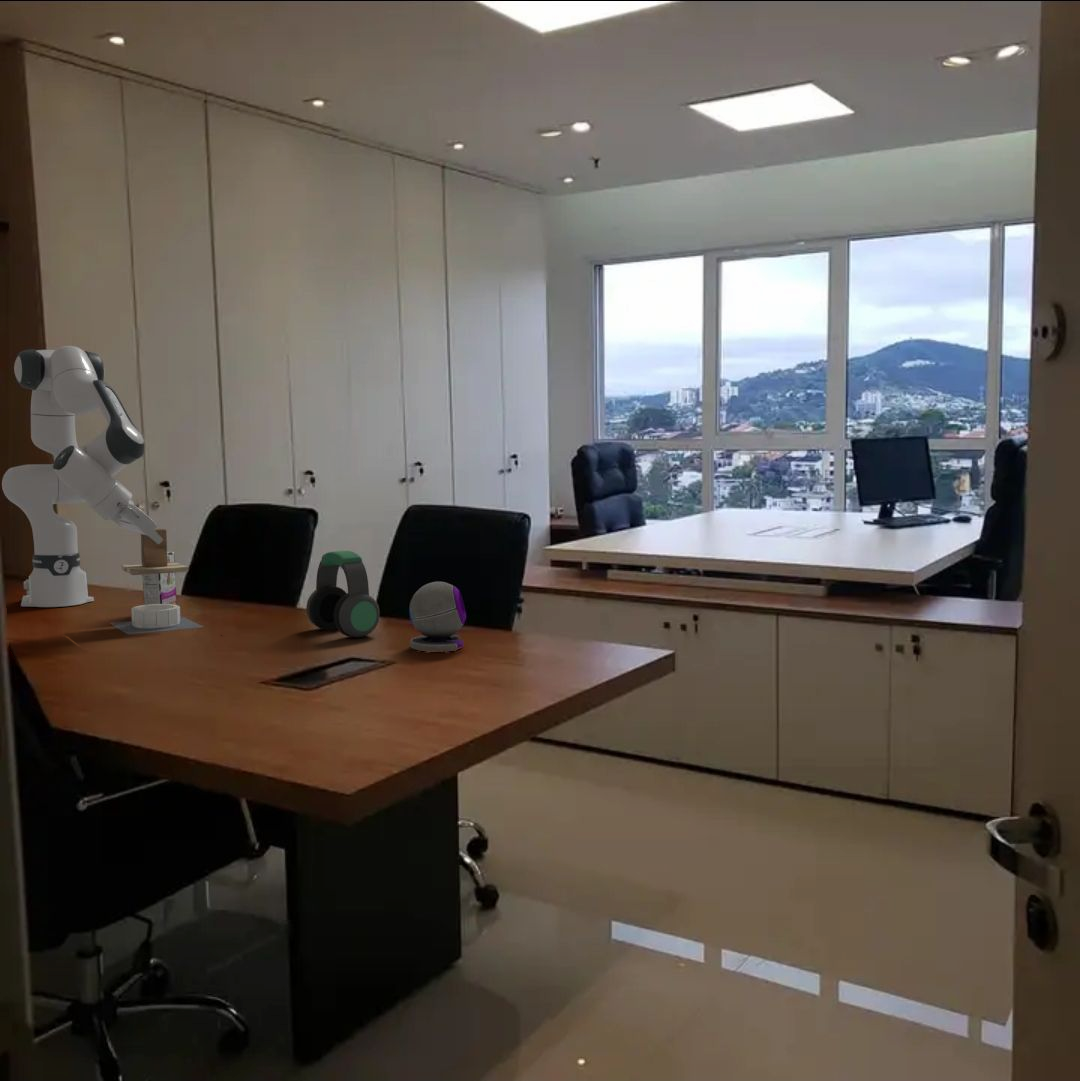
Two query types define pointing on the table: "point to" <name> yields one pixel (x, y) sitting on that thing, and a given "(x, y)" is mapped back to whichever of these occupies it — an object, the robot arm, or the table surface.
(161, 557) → the lid
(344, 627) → the headphones
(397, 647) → the table surface
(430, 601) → the webcam
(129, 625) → the mat
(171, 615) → the bowl
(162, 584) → the candy bar box
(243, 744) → the table surface
